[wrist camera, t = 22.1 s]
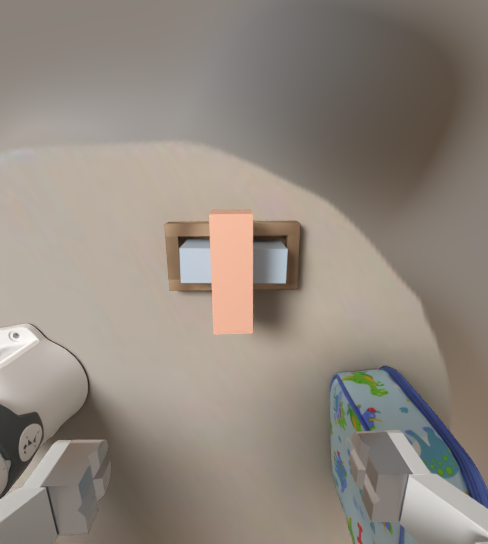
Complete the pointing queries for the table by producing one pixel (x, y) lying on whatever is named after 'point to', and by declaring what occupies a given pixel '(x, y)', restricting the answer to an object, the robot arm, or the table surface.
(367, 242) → the table surface
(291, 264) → the jig
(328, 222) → the table surface
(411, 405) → the lunch box
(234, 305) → the salmon orange rectangular block
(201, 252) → the pale blue upright slab
